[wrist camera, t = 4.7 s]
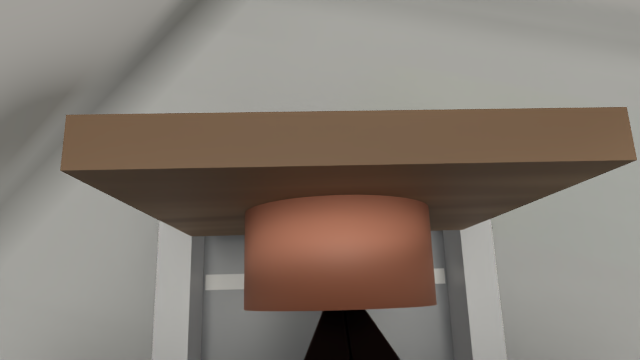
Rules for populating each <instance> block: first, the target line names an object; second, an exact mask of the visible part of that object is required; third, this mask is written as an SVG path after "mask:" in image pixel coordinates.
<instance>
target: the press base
mask: <svg viewBox="0 0 640 360" xmlns="http://www.w3.org/2000/svg"><path fill="white" fill-rule="evenodd" d="M431 241H432V253H433V265H434V277H435V289H436V301H437V305H434V306H424V307H410V308H390V309H366V311H367V312H368V314H369V315H370V317H371V318H372V320H373V321H374V322H375V324H376V325H377V327H378V328H379V330H380V331H381V332H382V334H383V335H384V337H385V338H386V340H387V341H388V343H389V344H390V345H391V347H392V348H393V350H394V351H395V353H396V354H397V355H398V357H399V358H400V360H507V354H506V345H505V337H504V328H503V319H502V311H501V302H500V293H499V285H498V276H497V267H496V259H495V250H494V241H493V233H492V224H491V219H489V220H486V221H484V222H481V223H479V224H476V225H474V226H471V227H469V228H466V229H464V230H440V231H431ZM244 248H245V235H230V236H189V235H187V234H185V233H183V232H181V231H179V230H177V229H175V228H174V227H172V226H170V225H168V224H166V223H164V222H162V221H160V220H159V234H158V252H157V271H156V289H155V308H154V327H153V345H152V360H304V357H305V355H306V352H307V350H308V347H309V344H310V342H311V339H312V337H313V334H314V332H315V329H316V327H317V324H318V321H319V319H320V316H321V314H322V311H246V310H244Z"/></svg>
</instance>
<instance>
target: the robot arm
mask: <svg viewBox="0 0 640 360" xmlns="http://www.w3.org/2000/svg"><path fill="white" fill-rule="evenodd" d="M304 360H400V358H399V357H398V355H397V354H396V353H395V351H394V350H393V348H392V347H391V345H390V344H389V343H388V341H387V340H386V338H385V337H384V335H383V334H382V332H381V331H380V330H379V328H378V327H377V325H376V324H375V322H374V321H373V320H372V318H371V317H370V315H369V314H368V312H367V311H366V310H333V311H322V314H321V316H320V319H319V321H318V324H317V327H316V329H315V332H314V334H313V337H312V339H311V342H310V344H309V347H308V350H307V352H306V355H305V357H304Z"/></svg>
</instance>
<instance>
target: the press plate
mask: <svg viewBox="0 0 640 360" xmlns="http://www.w3.org/2000/svg"><path fill="white" fill-rule="evenodd" d="M636 160H637V158H636V153H635V148H634V142H633V137H632V132H631V127H630V122H629V117H628V112H627V107H601V108H529V109H457V110H384V111H312V112H240V113H168V114H95V115H66V122H65V132H64V141H63V151H62V160H61V169H60V171H62V172H64V173H66V174H68V175H70V176H72V177H74V178H76V179H78V180H80V181H82V182H84V183H86V184H88V185H90V186H92V187H94V188H96V189H98V190H100V191H102V192H104V193H106V194H108V195H110V196H112V197H114V198H116V199H118V200H120V201H122V202H124V203H126V204H128V205H130V206H132V207H134V208H136V209H138V210H140V211H142V212H144V213H146V214H148V215H150V216H152V217H154V218H156V219H158V220H160V221H162V222H164V223H166V224H168V225H170V226H172V227H174V228H175V229H177V230H179V231H181V232H183V233H185V234H187V235H189V236H230V235H245V248H244V310H246V311H333V310H366V309H390V308H410V307H424V306H434V305H437V301H436V289H435V277H434V265H433V253H432V241H431V231H440V230H464V229H466V228H469V227H471V226H474V225H476V224H479V223H481V222H484V221H486V220H489V219H491V218H494V217H496V216H499V215H501V214H504V213H506V212H509V211H511V210H514V209H516V208H519V207H521V206H523V205H526V204H528V203H531V202H533V201H536V200H538V199H541V198H543V197H546V196H548V195H551V194H553V193H556V192H558V191H561V190H563V189H566V188H568V187H571V186H573V185H576V184H578V183H581V182H583V181H586V180H588V179H591V178H593V177H596V176H598V175H601V174H603V173H606V172H608V171H611V170H613V169H616V168H618V167H621V166H623V165H626V164H628V163H631V162H633V161H636Z"/></svg>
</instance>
